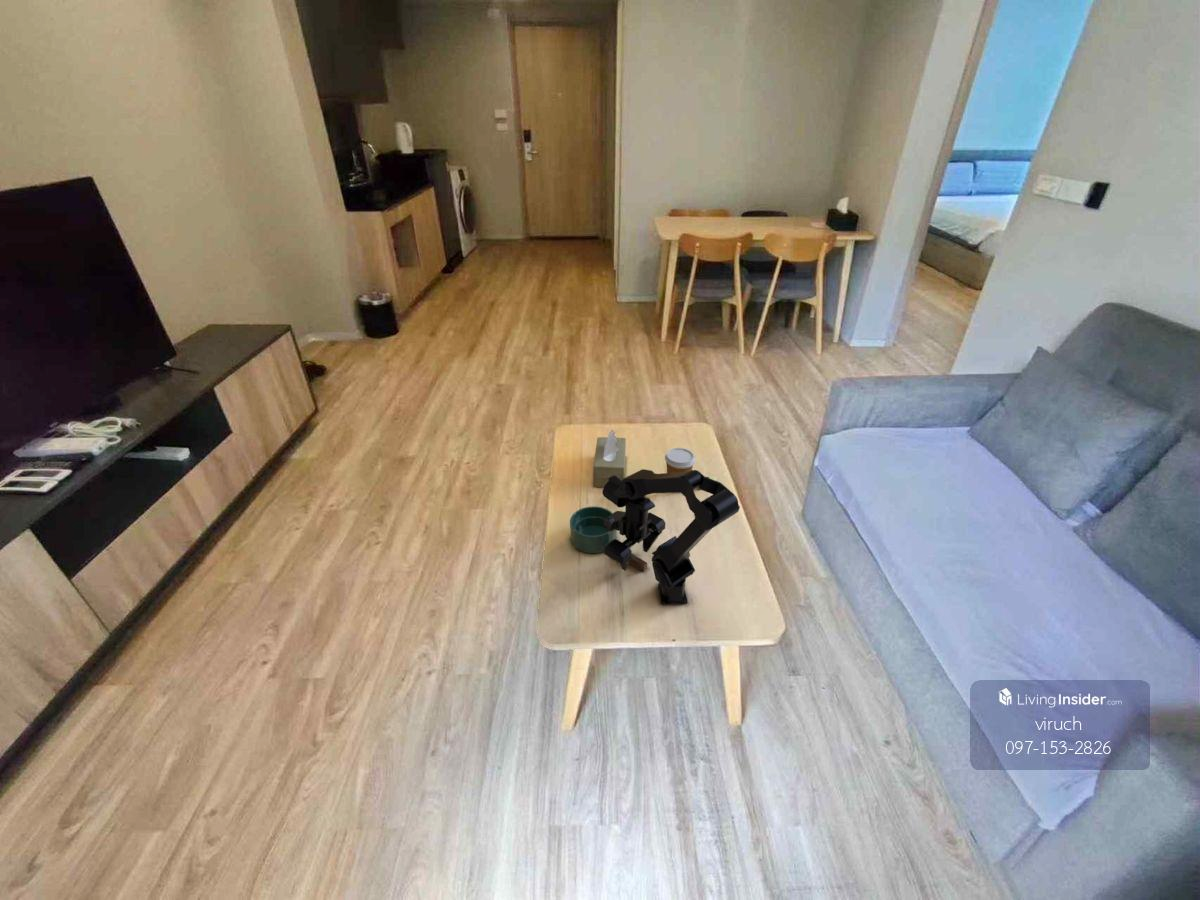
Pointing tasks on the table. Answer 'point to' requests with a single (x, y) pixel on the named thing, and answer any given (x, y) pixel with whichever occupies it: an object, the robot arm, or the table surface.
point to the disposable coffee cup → (679, 460)
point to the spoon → (638, 563)
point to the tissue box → (609, 459)
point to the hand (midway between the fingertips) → (634, 560)
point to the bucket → (590, 529)
